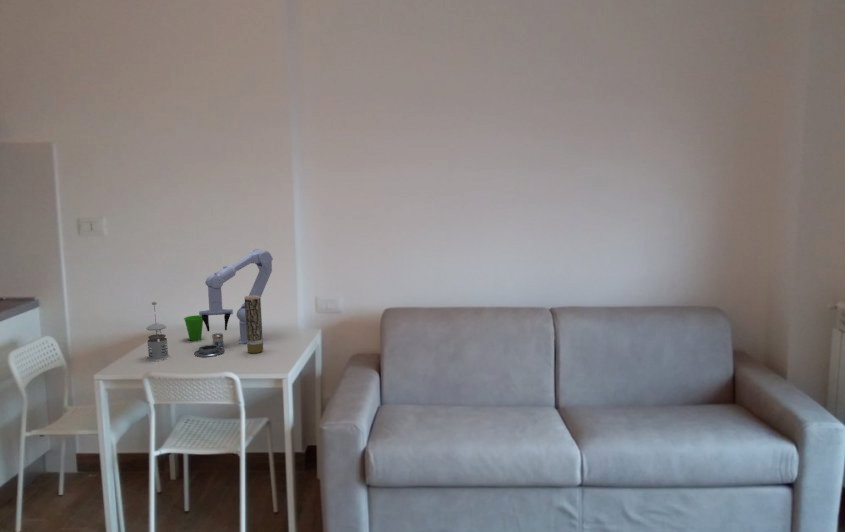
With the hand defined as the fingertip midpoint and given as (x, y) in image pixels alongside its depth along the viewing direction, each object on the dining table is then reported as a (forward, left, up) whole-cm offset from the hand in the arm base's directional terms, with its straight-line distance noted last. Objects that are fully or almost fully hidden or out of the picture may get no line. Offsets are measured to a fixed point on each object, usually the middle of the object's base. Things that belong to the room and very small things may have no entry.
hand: (217, 330), depth 292 cm
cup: (+12, -16, -8) cm, 22 cm away
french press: (+24, +10, -8) cm, 27 cm away
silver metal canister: (0, 0, -8) cm, 8 cm away
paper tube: (-17, +12, -8) cm, 22 cm away
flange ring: (+3, +9, -8) cm, 12 cm away
